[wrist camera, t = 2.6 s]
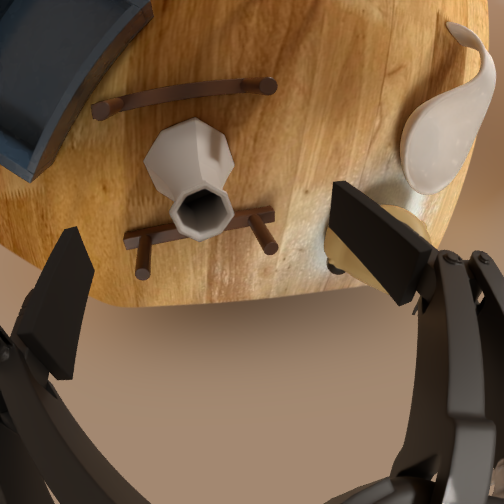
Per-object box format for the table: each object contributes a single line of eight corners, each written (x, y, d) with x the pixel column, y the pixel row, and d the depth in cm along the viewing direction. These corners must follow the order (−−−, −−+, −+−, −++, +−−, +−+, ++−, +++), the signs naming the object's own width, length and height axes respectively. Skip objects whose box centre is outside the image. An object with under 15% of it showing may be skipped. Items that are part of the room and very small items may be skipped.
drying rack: (127, 243, 24) (120, 285, 19) (94, 103, 16) (69, 111, 12) (270, 216, 27) (294, 250, 22) (267, 77, 19) (298, 77, 14)
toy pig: (347, 180, 31) (317, 208, 23) (440, 208, 26) (447, 250, 18) (335, 249, 36) (304, 294, 29) (416, 277, 31) (408, 332, 24)
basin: (52, 164, 18) (30, 184, 14) (-42, 103, 10) (-70, 113, 6) (154, 16, 14) (150, 0, 10) (41, -35, 6) (21, -50, 2)
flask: (197, 101, 19) (216, 112, 11) (248, 165, 23) (294, 217, 15) (128, 160, 20) (103, 213, 12) (184, 216, 24) (195, 290, 16)
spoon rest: (424, 194, 31) (462, 220, 26) (368, 166, 26) (414, 194, 21) (472, 55, 20) (512, 65, 14) (425, 1, 15) (473, 1, 10)
